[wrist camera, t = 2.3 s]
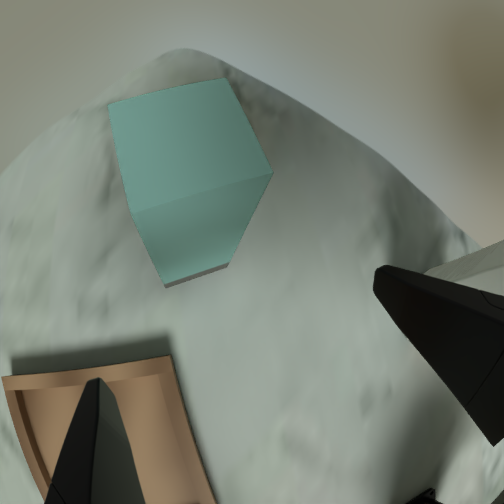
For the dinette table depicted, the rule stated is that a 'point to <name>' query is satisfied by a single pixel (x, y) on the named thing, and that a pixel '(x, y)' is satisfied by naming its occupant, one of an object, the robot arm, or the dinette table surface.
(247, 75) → the dinette table surface
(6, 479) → the dinette table surface
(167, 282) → the teal block
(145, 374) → the walnut tray
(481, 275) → the skincare box
